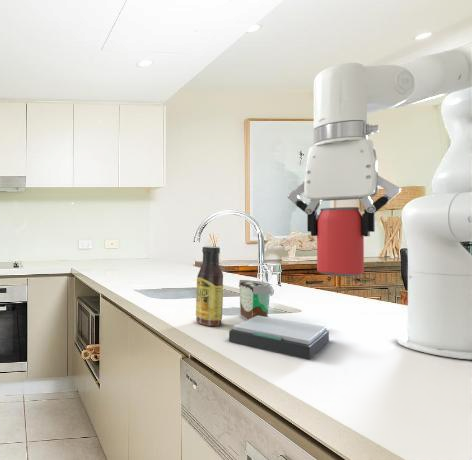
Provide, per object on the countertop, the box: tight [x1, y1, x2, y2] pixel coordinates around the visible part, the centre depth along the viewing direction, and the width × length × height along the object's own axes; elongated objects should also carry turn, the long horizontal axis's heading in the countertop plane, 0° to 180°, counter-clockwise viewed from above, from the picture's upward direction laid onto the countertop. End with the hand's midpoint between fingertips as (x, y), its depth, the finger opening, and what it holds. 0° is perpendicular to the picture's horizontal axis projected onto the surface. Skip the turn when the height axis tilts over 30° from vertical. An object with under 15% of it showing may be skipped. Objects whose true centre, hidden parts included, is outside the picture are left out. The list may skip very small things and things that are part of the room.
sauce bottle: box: [195, 245, 224, 327], centre depth 91 cm, size 6×6×20 cm
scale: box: [228, 316, 330, 360], centre depth 77 cm, size 17×14×3 cm
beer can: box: [316, 206, 365, 277], centre depth 64 cm, size 7×7×12 cm
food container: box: [238, 279, 274, 321], centre depth 95 cm, size 12×6×10 cm, turn 168°
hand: (339, 235), depth 64 cm, fingers closed on beer can, 6 cm apart
